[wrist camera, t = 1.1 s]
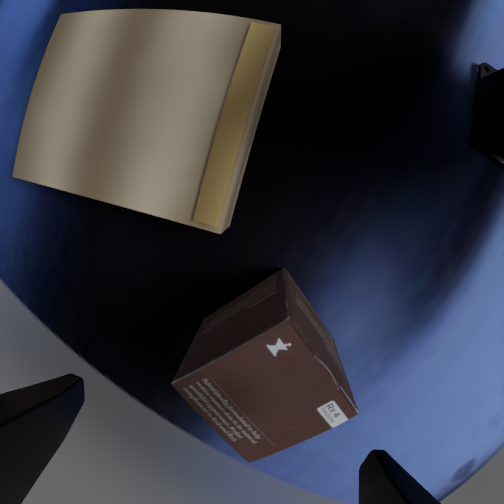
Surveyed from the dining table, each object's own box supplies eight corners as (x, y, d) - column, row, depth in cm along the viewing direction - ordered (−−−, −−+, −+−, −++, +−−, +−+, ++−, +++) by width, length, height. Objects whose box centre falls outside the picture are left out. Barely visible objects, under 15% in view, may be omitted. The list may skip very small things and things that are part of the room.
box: (202, 315, 20) (165, 381, 12) (285, 264, 19) (290, 313, 11) (257, 385, 20) (247, 465, 13) (337, 342, 19) (361, 416, 12)
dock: (280, 47, 16) (280, 23, 13) (229, 226, 18) (219, 234, 15) (83, 29, 16) (59, 13, 13) (40, 175, 18) (10, 176, 15)
